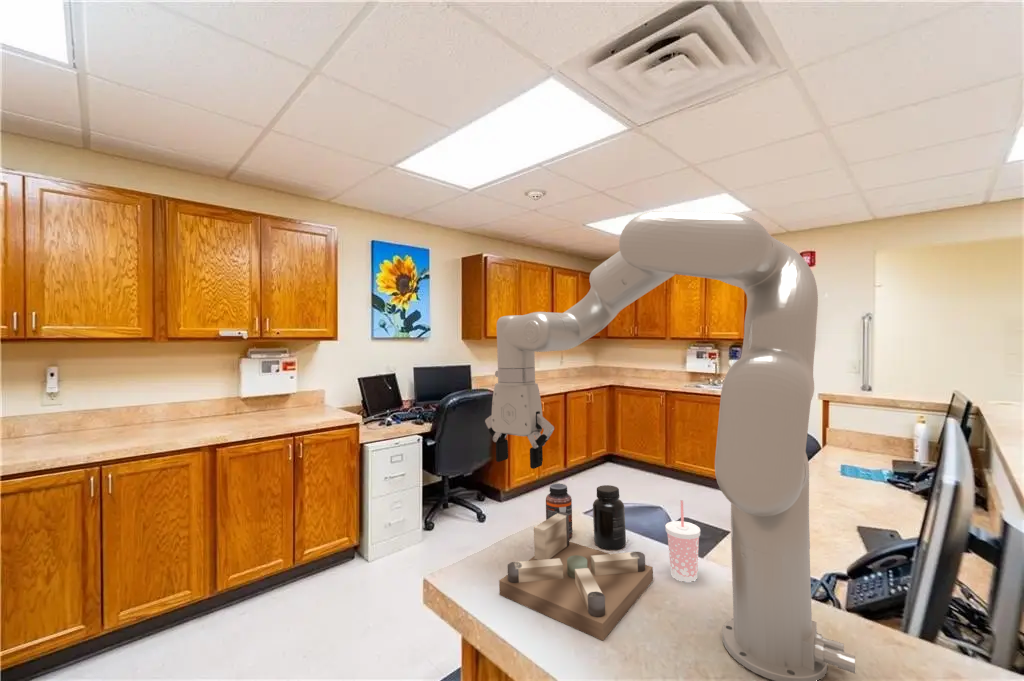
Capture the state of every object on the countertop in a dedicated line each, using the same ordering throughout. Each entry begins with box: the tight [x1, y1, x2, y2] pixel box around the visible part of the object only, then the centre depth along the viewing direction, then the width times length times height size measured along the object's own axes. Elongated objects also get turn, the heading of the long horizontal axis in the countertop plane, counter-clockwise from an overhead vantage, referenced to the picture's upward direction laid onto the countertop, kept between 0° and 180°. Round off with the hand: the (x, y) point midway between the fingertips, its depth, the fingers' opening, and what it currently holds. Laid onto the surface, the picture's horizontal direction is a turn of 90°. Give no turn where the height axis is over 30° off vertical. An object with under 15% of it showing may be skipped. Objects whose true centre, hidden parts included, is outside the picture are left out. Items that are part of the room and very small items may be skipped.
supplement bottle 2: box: [592, 484, 627, 551], centre depth 95 cm, size 7×7×12 cm
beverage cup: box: [664, 499, 701, 583], centre depth 81 cm, size 6×6×14 cm
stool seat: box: [498, 541, 654, 641], centre depth 78 cm, size 20×20×5 cm
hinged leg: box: [533, 512, 570, 560], centre depth 87 cm, size 10×3×6 cm, turn 141°
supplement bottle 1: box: [545, 483, 573, 539], centre depth 99 cm, size 6×6×11 cm
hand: (518, 463), depth 88 cm, fingers open, 8 cm apart
